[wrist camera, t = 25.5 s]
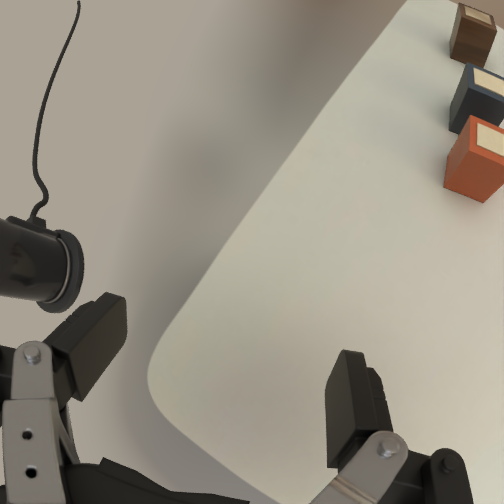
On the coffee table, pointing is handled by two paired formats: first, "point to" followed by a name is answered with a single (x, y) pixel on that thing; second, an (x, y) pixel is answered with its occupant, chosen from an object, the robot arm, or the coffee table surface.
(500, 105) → the navy labelled block
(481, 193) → the orange box with label
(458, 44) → the brown post
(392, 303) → the coffee table surface
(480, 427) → the coffee table surface
